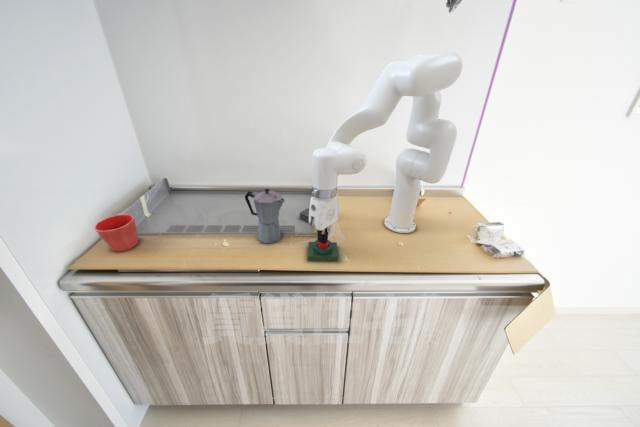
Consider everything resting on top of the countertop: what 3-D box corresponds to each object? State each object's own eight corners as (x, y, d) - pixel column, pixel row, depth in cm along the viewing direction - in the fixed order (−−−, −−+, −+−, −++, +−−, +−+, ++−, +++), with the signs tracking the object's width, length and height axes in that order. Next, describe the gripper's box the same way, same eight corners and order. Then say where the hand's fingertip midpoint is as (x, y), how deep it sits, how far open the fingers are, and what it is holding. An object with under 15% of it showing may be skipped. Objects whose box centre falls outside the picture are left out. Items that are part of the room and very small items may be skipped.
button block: (336, 247, 87) (337, 238, 85) (337, 261, 80) (338, 252, 78) (308, 246, 87) (308, 237, 85) (307, 261, 80) (307, 251, 78)
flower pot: (101, 257, 80) (88, 233, 75) (112, 239, 88) (101, 216, 84) (139, 250, 83) (128, 227, 78) (146, 234, 92) (137, 211, 87)
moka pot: (283, 247, 86) (279, 196, 76) (243, 241, 89) (235, 192, 79) (291, 232, 94) (289, 185, 85) (254, 228, 97) (248, 181, 87)
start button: (328, 242, 83) (328, 238, 82) (328, 248, 80) (328, 244, 79) (317, 242, 83) (317, 238, 82) (317, 248, 80) (317, 244, 79)
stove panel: (317, 208, 112) (317, 202, 111) (334, 216, 107) (335, 209, 105) (299, 218, 104) (299, 212, 103) (317, 226, 99) (317, 220, 97)
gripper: (317, 203, 65) (316, 256, 73) (348, 187, 75) (344, 236, 83) (297, 195, 69) (298, 246, 78) (329, 181, 79) (327, 228, 88)
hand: (322, 241), depth 80 cm, fingers closed
